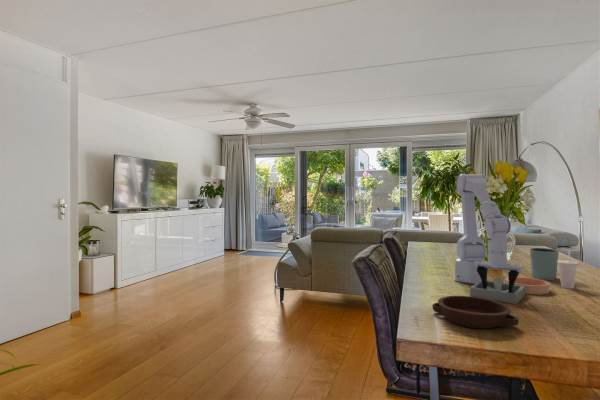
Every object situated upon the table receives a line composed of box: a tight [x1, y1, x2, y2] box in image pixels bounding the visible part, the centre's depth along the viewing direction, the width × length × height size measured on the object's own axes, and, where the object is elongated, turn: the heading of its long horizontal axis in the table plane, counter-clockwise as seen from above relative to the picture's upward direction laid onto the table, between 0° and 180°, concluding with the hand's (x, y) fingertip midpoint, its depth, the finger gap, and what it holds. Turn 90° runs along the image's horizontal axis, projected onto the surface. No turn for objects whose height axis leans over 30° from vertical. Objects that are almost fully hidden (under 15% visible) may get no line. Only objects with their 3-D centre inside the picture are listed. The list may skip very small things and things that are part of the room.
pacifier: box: [486, 277, 509, 293], centre depth 120 cm, size 7×6×6 cm
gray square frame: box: [469, 280, 526, 305], centre depth 121 cm, size 14×14×3 cm
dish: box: [431, 295, 520, 329], centre depth 97 cm, size 17×22×5 cm
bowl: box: [504, 276, 551, 295], centre depth 128 cm, size 14×14×3 cm
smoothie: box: [557, 250, 579, 290], centre depth 130 cm, size 6×6×14 cm
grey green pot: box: [529, 247, 560, 281], centre depth 146 cm, size 10×10×12 cm
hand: (497, 289), depth 121 cm, fingers closed on pacifier, 7 cm apart
